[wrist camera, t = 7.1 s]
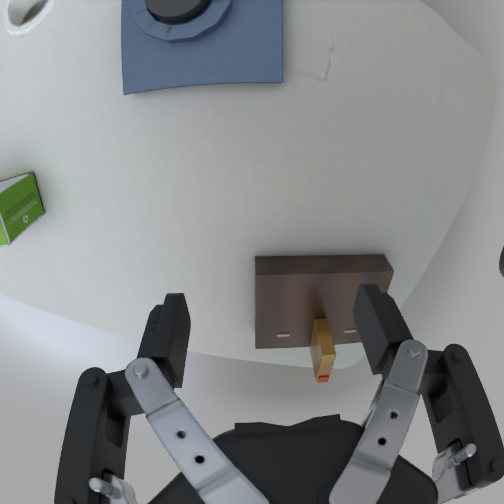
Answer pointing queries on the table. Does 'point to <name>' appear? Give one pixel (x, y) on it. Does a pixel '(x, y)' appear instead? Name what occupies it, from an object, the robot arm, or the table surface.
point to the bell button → (175, 8)
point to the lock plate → (311, 296)
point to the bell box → (202, 45)
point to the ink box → (18, 206)
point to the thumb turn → (322, 350)
